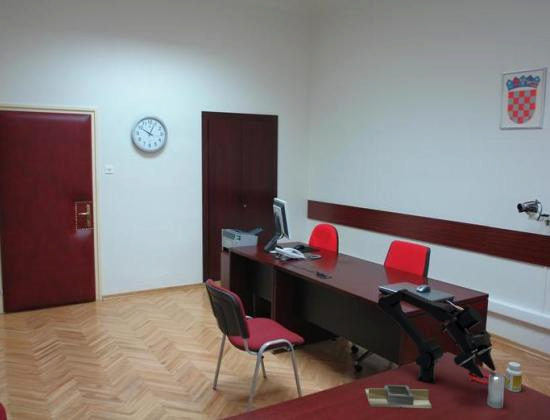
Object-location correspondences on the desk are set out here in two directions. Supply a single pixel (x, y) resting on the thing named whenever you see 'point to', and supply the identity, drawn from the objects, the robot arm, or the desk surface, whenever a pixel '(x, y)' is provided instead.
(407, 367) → the desk surface
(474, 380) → the tow hook
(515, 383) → the supplement bottle
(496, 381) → the silver metal cylinder
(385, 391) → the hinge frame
